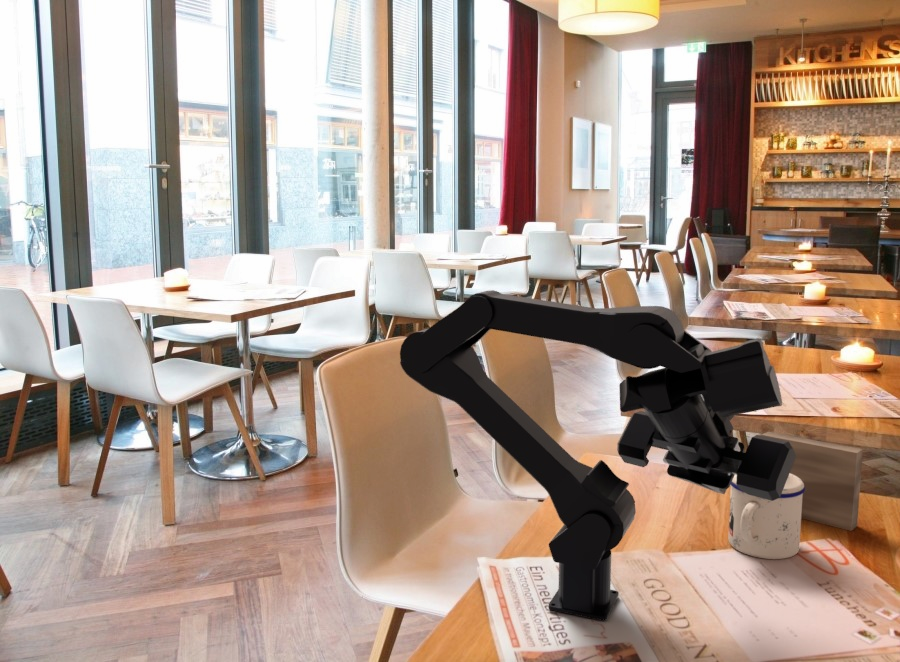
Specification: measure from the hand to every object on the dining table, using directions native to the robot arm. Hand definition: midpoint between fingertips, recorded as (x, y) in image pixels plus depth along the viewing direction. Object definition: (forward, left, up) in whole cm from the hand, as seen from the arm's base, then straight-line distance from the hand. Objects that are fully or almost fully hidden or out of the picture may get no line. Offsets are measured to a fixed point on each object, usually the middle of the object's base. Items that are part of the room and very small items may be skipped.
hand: (723, 489), depth 93 cm
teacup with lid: (+11, -4, -11) cm, 16 cm away
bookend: (+26, -9, -11) cm, 29 cm away
